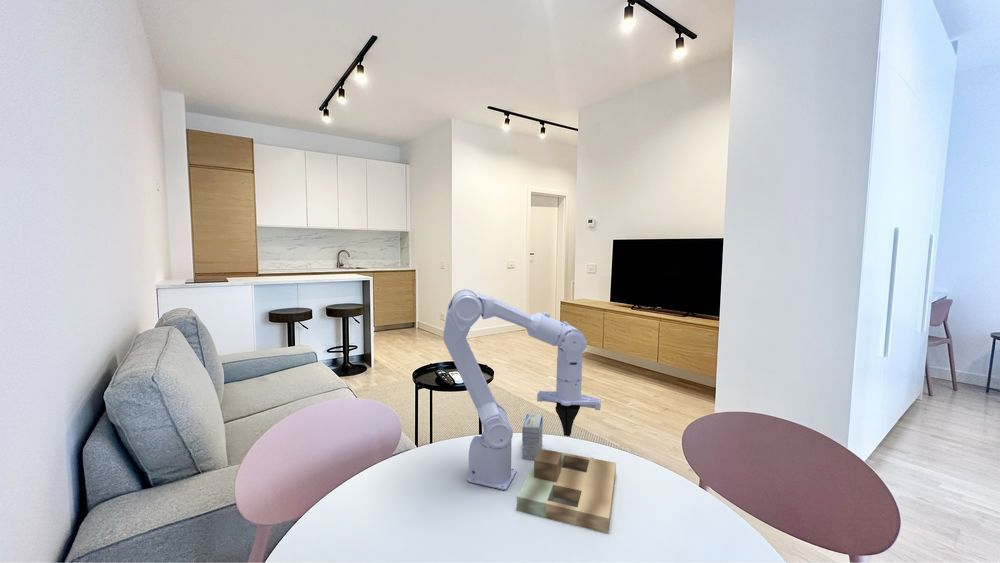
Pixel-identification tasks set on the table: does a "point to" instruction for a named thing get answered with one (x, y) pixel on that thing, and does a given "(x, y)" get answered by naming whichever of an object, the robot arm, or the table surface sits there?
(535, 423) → the medicine box
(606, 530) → the board
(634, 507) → the table surface
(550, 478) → the walnut block
